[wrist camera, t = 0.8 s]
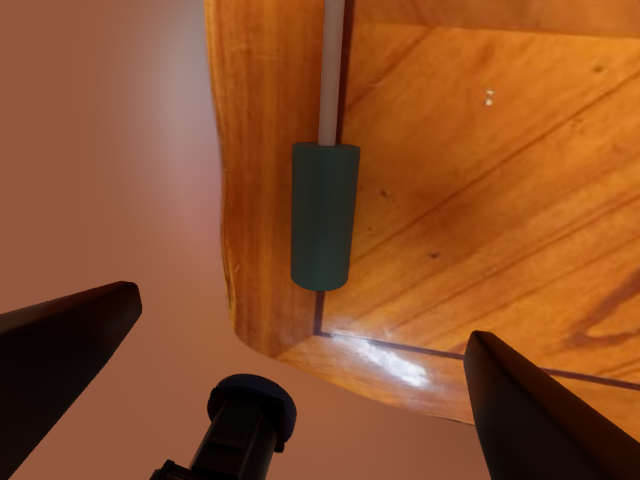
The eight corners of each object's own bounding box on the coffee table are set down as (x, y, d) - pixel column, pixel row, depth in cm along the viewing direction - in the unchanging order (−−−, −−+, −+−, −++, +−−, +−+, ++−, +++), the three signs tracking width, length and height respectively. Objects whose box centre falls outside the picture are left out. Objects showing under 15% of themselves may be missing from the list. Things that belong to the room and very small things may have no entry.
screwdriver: (350, 266, 18) (344, 295, 15) (298, 259, 18) (283, 286, 16) (381, -39, 12) (380, -86, 10) (306, -36, 13) (284, -81, 10)
